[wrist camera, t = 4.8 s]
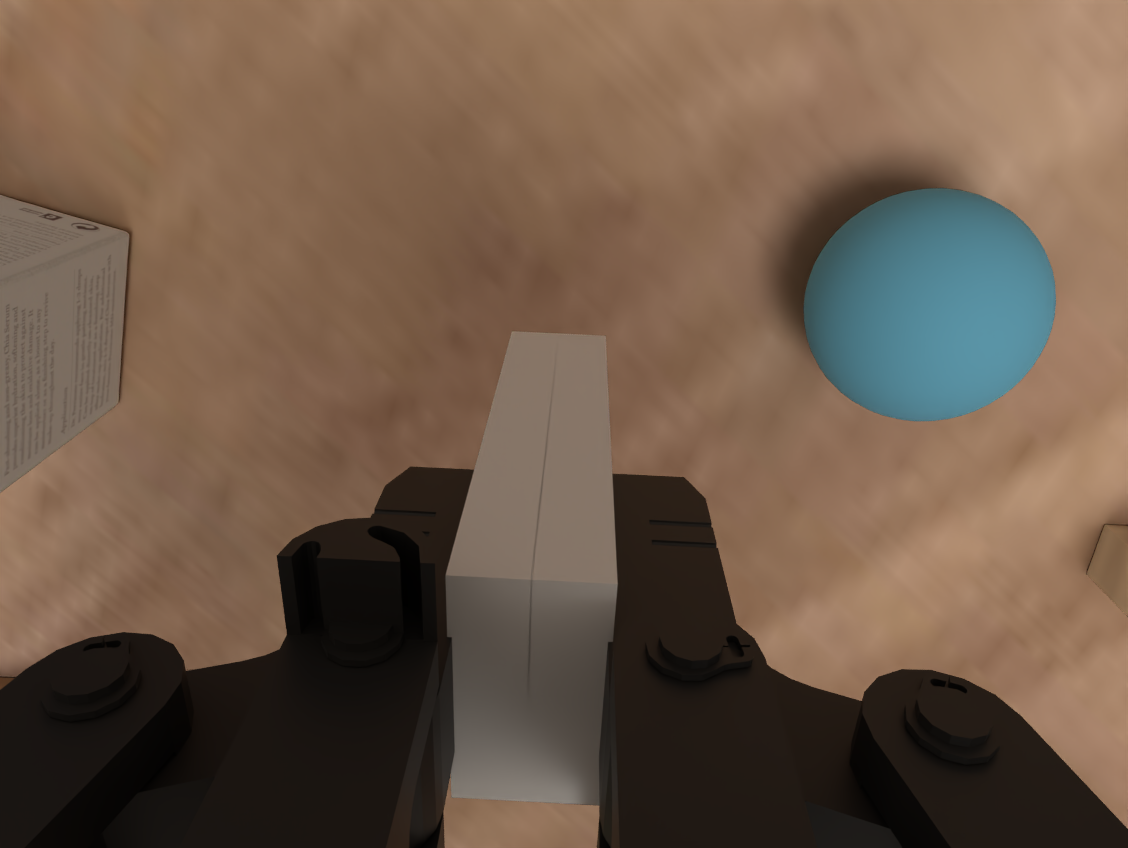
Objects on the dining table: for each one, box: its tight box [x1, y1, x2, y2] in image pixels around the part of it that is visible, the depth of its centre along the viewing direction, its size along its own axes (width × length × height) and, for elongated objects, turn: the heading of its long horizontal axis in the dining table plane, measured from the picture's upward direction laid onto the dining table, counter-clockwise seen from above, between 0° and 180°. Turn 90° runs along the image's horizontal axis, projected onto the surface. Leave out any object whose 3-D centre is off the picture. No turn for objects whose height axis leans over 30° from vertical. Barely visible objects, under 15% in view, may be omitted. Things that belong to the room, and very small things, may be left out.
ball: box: [804, 188, 1056, 421], centre depth 21 cm, size 6×6×6 cm
